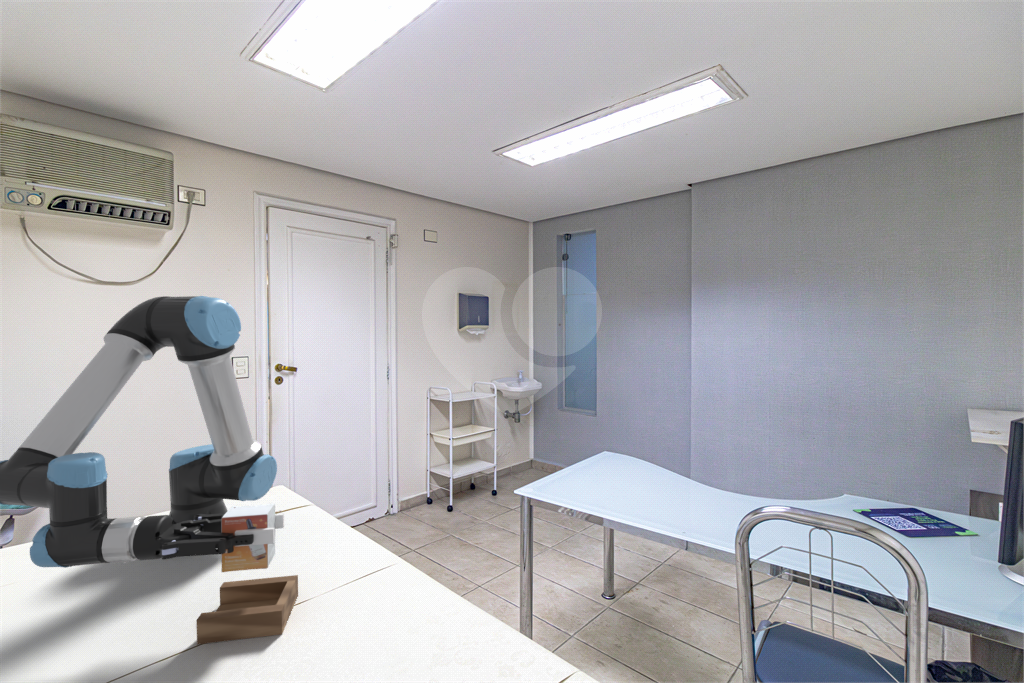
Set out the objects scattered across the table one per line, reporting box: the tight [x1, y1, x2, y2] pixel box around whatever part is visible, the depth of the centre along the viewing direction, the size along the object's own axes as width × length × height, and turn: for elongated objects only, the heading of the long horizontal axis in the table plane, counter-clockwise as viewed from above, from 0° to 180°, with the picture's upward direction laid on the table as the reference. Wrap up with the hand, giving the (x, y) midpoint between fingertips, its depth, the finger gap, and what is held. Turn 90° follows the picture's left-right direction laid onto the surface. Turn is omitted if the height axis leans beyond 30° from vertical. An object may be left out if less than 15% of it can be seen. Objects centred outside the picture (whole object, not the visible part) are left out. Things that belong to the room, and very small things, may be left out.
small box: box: [220, 502, 276, 573], centre depth 89 cm, size 8×6×10 cm
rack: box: [196, 574, 299, 645], centre depth 90 cm, size 12×14×4 cm
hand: (278, 527), depth 90 cm, fingers closed on small box, 6 cm apart
